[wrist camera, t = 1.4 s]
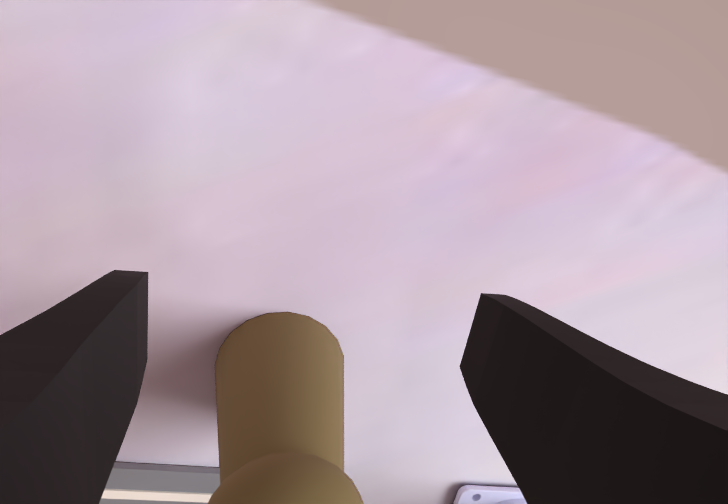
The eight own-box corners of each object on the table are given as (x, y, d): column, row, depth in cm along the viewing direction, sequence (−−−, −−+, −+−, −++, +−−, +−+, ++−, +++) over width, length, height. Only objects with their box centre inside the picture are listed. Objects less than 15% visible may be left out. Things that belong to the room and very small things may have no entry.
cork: (209, 419, 24) (163, 678, 14) (220, 306, 22) (175, 511, 12) (333, 424, 25) (374, 663, 15) (353, 317, 24) (415, 510, 13)
